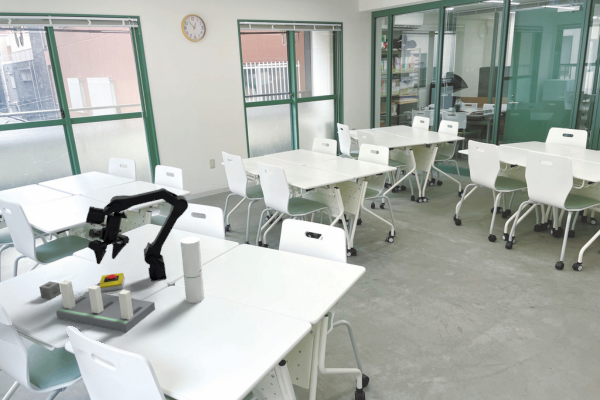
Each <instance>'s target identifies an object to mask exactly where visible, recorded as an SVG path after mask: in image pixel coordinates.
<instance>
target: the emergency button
mask: <svg viewBox="0 0 600 400" xmlns="http://www.w3.org/2000/svg"><path fill="white" fill-rule="evenodd" d="M125 280H126V277H125V274H124V272H119V273H113V274H112V273H111V274H104V275H101V277H100V281H99V285H98V286H100V289H101V293H102V294H108V295H112V294H116V293H119V292H121V291H122V290H124V285H125Z"/></svg>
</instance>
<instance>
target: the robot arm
mask: <svg viewBox="0 0 600 400" xmlns="http://www.w3.org/2000/svg"><path fill="white" fill-rule="evenodd" d="M160 200H162V201H165V202H166V203H168V204H169V205H170V209H169V213H168V215H167V217H166V219H165V221H164V222H163V224H162V226H161V228H160V230H159V231H158V233H157V235H156V237H155V239H154V240H153V241H152V242H151V243H150V242H149V241H147V244H146V247H145V248H143V256H144V262H145V263H146V264H147V265H149V267H148V277H149V279H150V282H155V281H161V280H167V274H166V264H165V260H164V256H163V254H161V253H162V249H163V248H162V247H164V246H163V245H164V244H165V242H166V240H167V239H168V237H169V235H170V234H171V231H172V230H173V228H174V226H175V224H176V222H177V220H178V219H179V218H181V216H183V214H184V213H185V212H186V210H188V208H189V203H188V201H187V198H186V197H185V196H184V195H181V194H179V195H178V194H176V193H174V192H172V191H170V190H168V189H166V188H164V187H161V188H159V189H154V190H150V191H146V192H145V191H144V192H142V193H138V194H132V195H115V196H113V197H111V198H110V200H109V202H108V203H107V204H106V205H105V206H104V207H103V208H101V207H95V206H89V208H88V212H87V214H86V218H85V219H86V220H85V223H86V224H93V225H99V226H100V225H102V224H103V223H105V225H104V226H103V227H101V228H89V230H88V236H89V237H91V239H94V240H90V241H89V242H88V245H87V249H88V248H89V249H90V250H92V251H93V253H94V255H95V261H96V264H98V265H100V264H101V262H102V261H103V259H104V257H105V254H106V253H107V248H108V246H111V245H112V253H111V259H112V260H115V259H116V257H118V255H119V253H120V252H121V251H122V250H123V249H124V248H125V247H126V246H127V244H129V243H130V242H129V241H130V237H129V236H127V235H125V234H122V232H123V230H122V228H121V226H122V225H121V224H122V219H128V214H127V213H126V211H127V210H129V209H131V208H132V207H135V206H138V205H142V204H147V203H152V202H155V201H160ZM105 220H106V221H105ZM95 238H96V239H95ZM97 238H98V239H97Z"/></svg>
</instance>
